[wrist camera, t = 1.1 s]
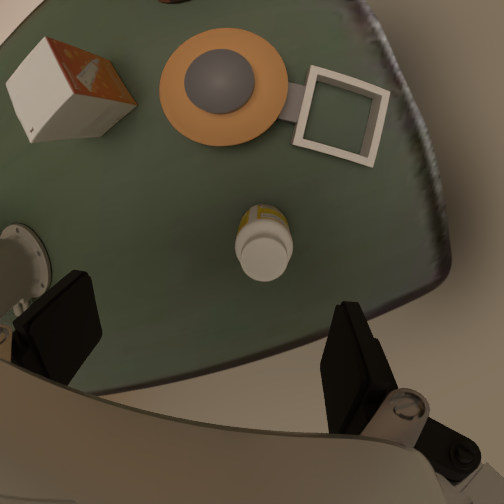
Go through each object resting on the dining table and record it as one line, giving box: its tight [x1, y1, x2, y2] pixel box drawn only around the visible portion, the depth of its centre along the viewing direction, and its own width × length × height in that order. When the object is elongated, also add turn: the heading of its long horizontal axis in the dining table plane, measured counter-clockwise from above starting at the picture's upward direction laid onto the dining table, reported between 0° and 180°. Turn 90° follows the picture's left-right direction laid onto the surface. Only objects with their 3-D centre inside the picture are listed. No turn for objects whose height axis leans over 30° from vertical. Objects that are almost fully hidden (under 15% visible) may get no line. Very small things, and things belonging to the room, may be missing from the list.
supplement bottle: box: [235, 204, 293, 281], centre depth 29 cm, size 5×5×10 cm
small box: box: [6, 37, 137, 143], centre depth 22 cm, size 8×6×13 cm
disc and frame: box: [159, 28, 390, 168], centre depth 25 cm, size 12×22×7 cm, turn 78°
